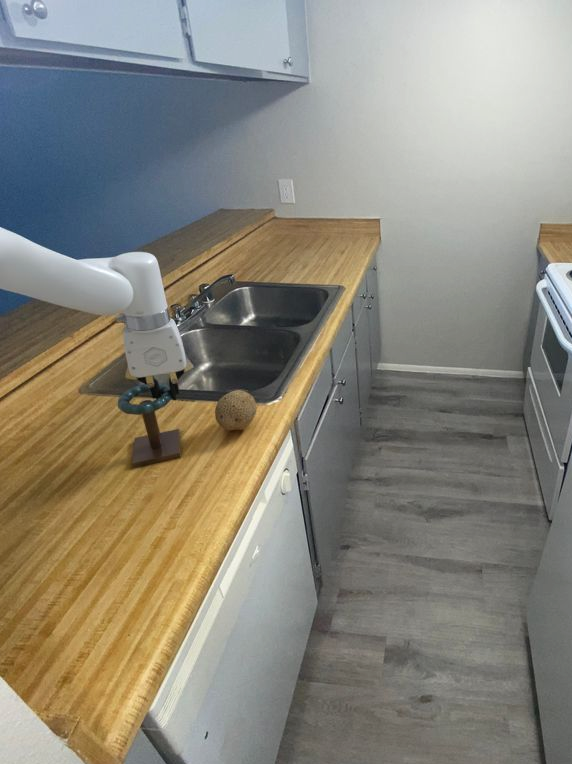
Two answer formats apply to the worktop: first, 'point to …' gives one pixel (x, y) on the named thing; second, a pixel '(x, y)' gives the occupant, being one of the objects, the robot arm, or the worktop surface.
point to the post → (155, 443)
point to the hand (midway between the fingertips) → (167, 397)
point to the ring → (147, 407)
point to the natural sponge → (235, 410)
